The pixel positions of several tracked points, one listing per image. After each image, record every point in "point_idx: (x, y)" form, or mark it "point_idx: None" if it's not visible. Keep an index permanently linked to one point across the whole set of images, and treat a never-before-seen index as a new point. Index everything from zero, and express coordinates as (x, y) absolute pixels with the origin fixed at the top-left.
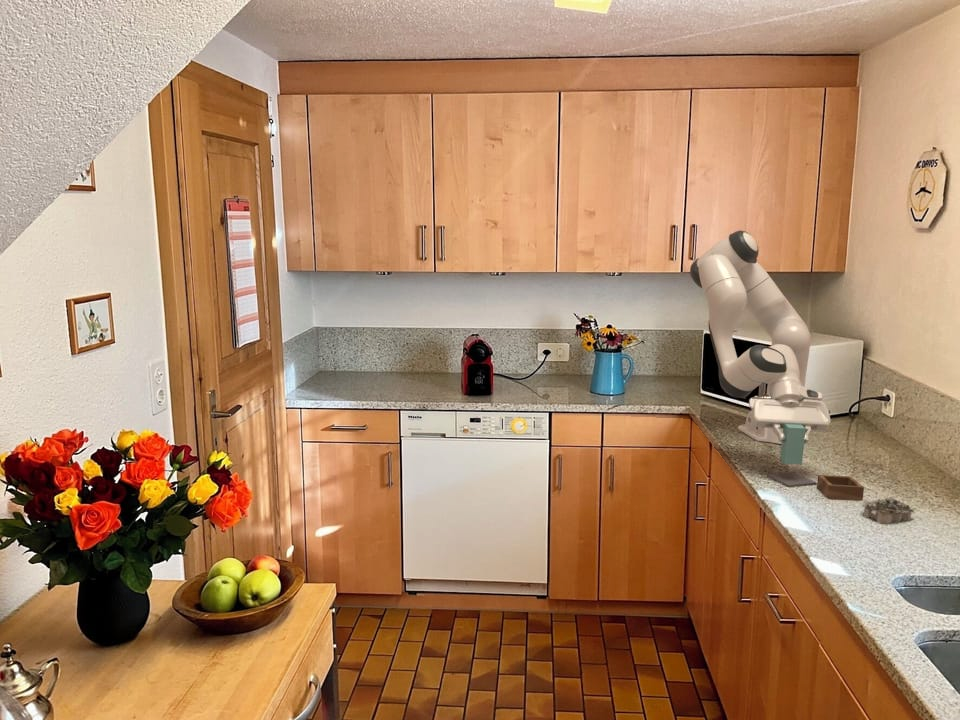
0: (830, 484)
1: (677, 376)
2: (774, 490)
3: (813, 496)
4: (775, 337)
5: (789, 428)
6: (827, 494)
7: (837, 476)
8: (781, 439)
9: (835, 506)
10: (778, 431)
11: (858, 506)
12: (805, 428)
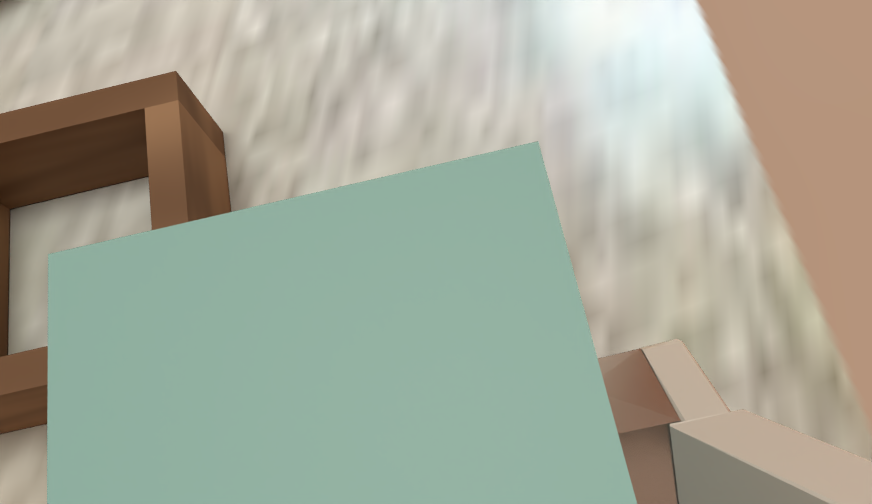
0: (159, 104)
1: None
2: (615, 168)
3: (320, 147)
4: None
5: (509, 163)
6: (213, 138)
7: (17, 371)
8: (650, 348)
9: (210, 10)
10: (778, 433)
11: (55, 68)
12: (55, 256)
